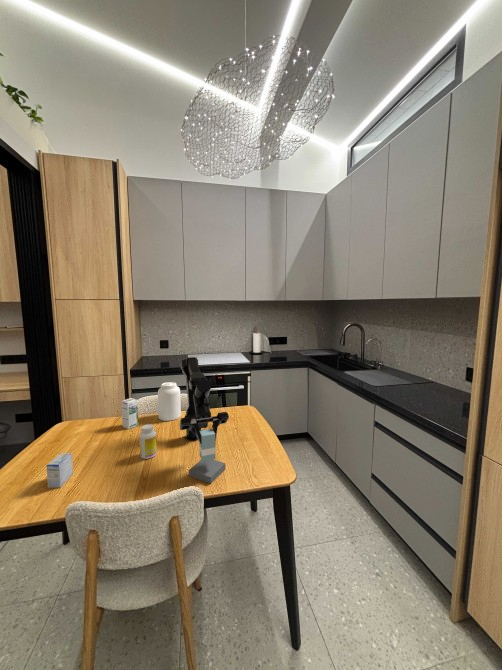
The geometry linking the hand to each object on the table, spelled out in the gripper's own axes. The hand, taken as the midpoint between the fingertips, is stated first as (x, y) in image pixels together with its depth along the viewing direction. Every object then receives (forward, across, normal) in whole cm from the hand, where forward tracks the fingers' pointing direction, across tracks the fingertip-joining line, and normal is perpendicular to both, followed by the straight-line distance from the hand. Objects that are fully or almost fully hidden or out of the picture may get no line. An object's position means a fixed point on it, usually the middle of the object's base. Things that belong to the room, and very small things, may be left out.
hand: (208, 442), depth 102 cm
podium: (+8, 0, -10) cm, 13 cm away
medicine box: (-2, +51, -21) cm, 55 cm away
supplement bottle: (-7, +21, -26) cm, 34 cm away
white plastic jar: (-35, +8, -54) cm, 65 cm away
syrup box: (-31, +29, -50) cm, 66 cm away
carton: (+4, 0, -6) cm, 7 cm away
